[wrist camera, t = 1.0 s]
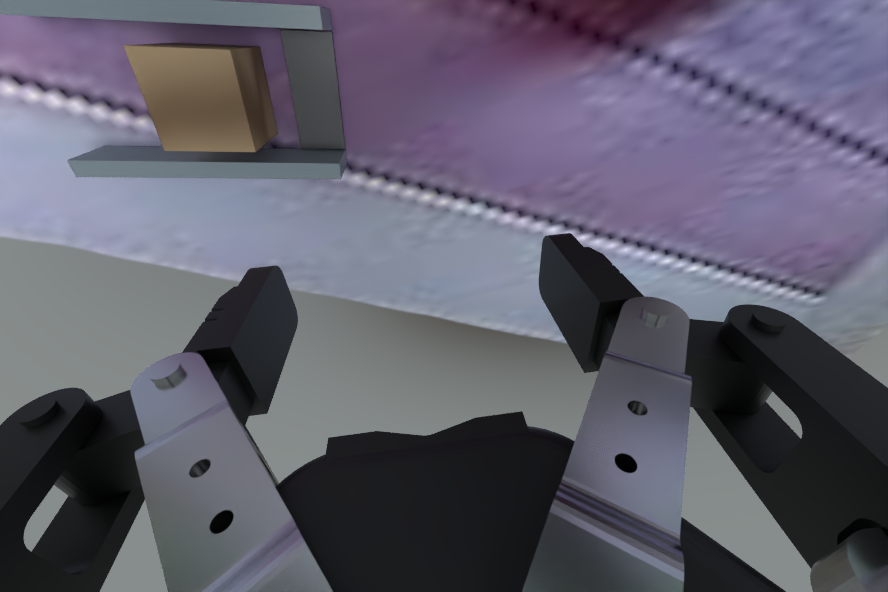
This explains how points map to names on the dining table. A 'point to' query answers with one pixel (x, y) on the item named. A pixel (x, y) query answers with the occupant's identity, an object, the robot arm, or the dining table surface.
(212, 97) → the block
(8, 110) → the dining table surface
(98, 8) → the channel
